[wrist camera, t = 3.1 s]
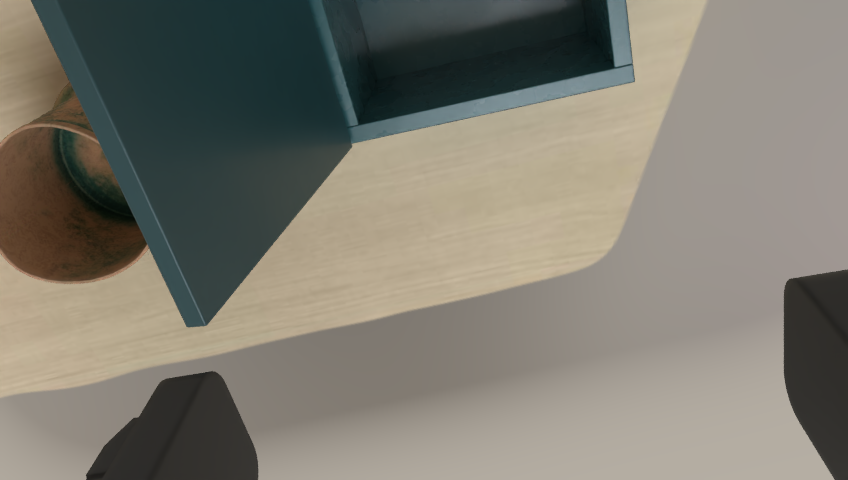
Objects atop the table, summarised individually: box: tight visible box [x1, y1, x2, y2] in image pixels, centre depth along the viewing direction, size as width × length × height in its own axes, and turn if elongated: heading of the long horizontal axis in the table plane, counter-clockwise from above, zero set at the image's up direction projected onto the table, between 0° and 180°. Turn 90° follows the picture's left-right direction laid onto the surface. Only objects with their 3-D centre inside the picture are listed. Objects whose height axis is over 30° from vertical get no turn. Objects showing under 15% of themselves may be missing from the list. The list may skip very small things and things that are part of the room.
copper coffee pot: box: [0, 83, 149, 284], centre depth 41 cm, size 12×18×12 cm, turn 138°
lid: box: [31, 0, 352, 327], centre depth 27 cm, size 16×12×1 cm
